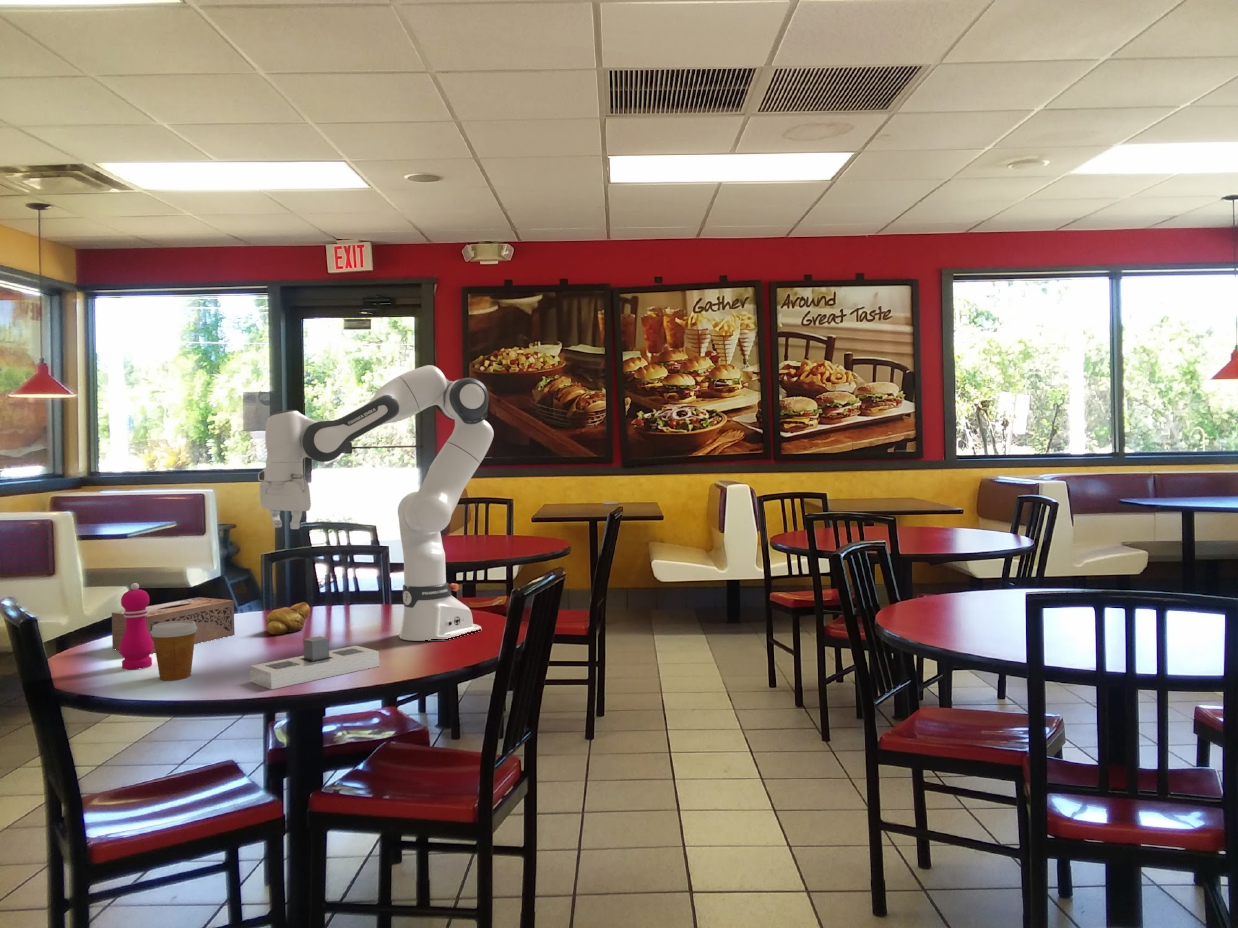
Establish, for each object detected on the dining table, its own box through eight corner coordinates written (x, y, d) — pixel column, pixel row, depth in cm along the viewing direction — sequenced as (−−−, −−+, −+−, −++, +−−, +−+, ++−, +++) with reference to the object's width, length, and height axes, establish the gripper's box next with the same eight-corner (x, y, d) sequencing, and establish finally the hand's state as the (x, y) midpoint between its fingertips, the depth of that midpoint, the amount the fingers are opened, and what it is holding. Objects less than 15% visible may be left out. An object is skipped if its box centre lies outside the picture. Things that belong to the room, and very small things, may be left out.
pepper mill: (139, 670, 208) (137, 585, 208) (112, 669, 209) (110, 585, 209) (161, 663, 215) (158, 580, 215) (135, 662, 216) (132, 580, 216)
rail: (356, 659, 215) (356, 645, 215) (379, 666, 208) (378, 651, 208) (250, 681, 196) (250, 665, 196) (271, 689, 189) (271, 672, 189)
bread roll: (280, 637, 243) (279, 608, 243) (253, 635, 247) (252, 606, 247) (313, 628, 255) (313, 600, 255) (287, 626, 259) (287, 599, 259)
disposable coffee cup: (166, 671, 206) (164, 620, 206) (206, 671, 206) (205, 619, 206) (142, 682, 197) (141, 628, 197) (185, 682, 196) (183, 628, 196)
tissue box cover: (199, 632, 254) (199, 597, 254) (234, 636, 248) (233, 600, 247) (112, 650, 231) (111, 612, 231) (148, 655, 225) (147, 616, 225)
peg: (320, 670, 205) (319, 636, 204) (329, 673, 202) (328, 638, 202) (304, 674, 202) (303, 638, 202) (313, 677, 199) (312, 641, 199)
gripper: (316, 473, 222) (317, 529, 222) (278, 473, 236) (279, 525, 236) (292, 474, 217) (293, 531, 217) (254, 474, 231) (256, 527, 231)
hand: (286, 528), depth 227 cm, fingers open, 8 cm apart
